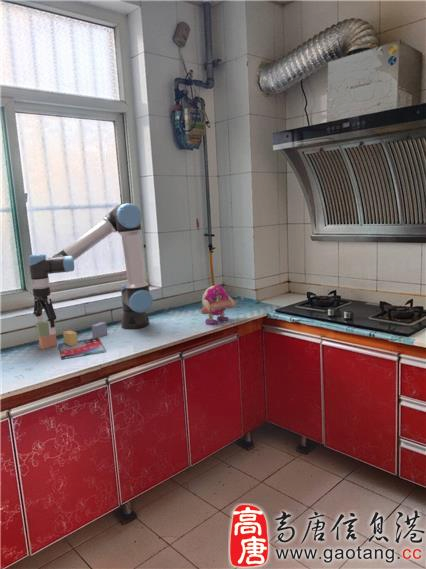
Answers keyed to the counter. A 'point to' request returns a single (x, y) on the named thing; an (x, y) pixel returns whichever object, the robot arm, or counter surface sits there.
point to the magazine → (81, 348)
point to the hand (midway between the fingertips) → (46, 331)
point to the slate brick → (99, 329)
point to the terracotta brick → (47, 341)
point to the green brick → (42, 328)
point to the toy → (216, 304)
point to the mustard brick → (70, 338)
